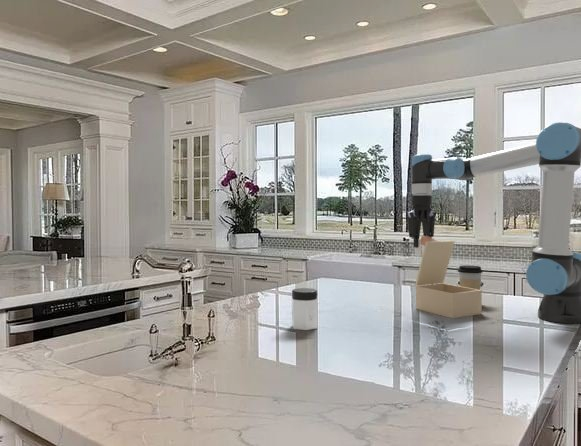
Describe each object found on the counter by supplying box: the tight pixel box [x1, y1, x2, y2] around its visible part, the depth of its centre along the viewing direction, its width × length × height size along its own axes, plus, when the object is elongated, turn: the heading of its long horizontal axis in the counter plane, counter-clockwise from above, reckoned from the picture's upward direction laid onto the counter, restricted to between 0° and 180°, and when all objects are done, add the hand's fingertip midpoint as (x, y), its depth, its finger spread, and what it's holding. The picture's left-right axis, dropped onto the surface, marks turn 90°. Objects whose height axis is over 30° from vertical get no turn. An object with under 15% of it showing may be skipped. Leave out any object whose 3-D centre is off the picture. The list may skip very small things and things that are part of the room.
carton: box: [415, 282, 483, 319], centre depth 178 cm, size 18×14×9 cm
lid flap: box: [414, 235, 455, 286], centre depth 187 cm, size 17×14×9 cm
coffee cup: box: [457, 264, 483, 290], centre depth 193 cm, size 9×9×15 cm
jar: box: [291, 287, 319, 331], centre depth 158 cm, size 9×8×12 cm
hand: (421, 255), depth 190 cm, fingers closed on lid flap, 3 cm apart
